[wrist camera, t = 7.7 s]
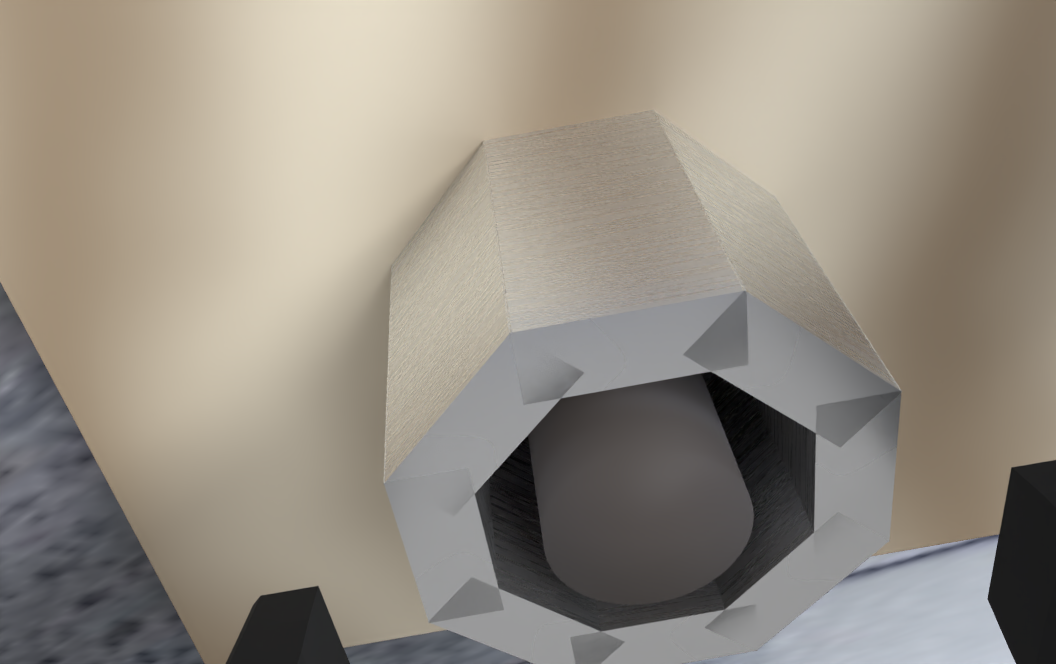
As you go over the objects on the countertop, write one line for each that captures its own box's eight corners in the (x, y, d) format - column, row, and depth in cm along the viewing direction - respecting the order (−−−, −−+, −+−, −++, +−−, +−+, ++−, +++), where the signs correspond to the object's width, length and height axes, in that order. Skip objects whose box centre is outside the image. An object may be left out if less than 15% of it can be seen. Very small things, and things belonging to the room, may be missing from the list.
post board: (1165, -290, 12) (1631, -248, 8) (1020, 480, 20) (1209, 742, 15) (-122, -59, 12) (-450, 123, 8) (218, 620, 20) (158, 923, 15)
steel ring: (773, 87, 13) (913, 260, 10) (777, 406, 16) (882, 627, 13) (363, 162, 13) (343, 362, 10) (445, 465, 16) (454, 703, 13)
